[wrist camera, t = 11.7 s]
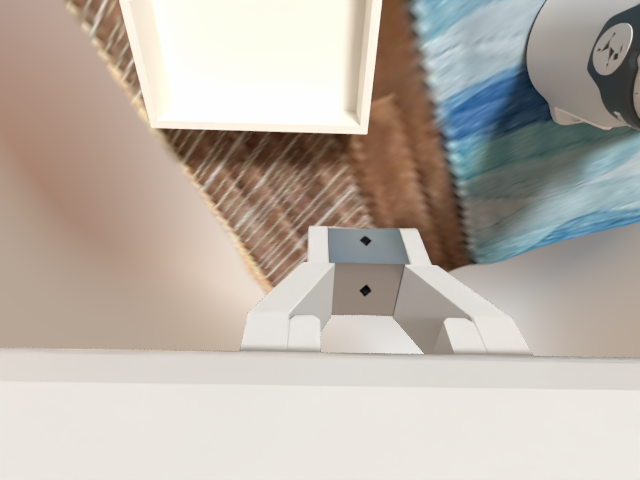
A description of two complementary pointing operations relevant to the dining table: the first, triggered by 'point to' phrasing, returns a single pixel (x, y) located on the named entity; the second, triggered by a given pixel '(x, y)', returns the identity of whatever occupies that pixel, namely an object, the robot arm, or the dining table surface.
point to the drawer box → (255, 63)
